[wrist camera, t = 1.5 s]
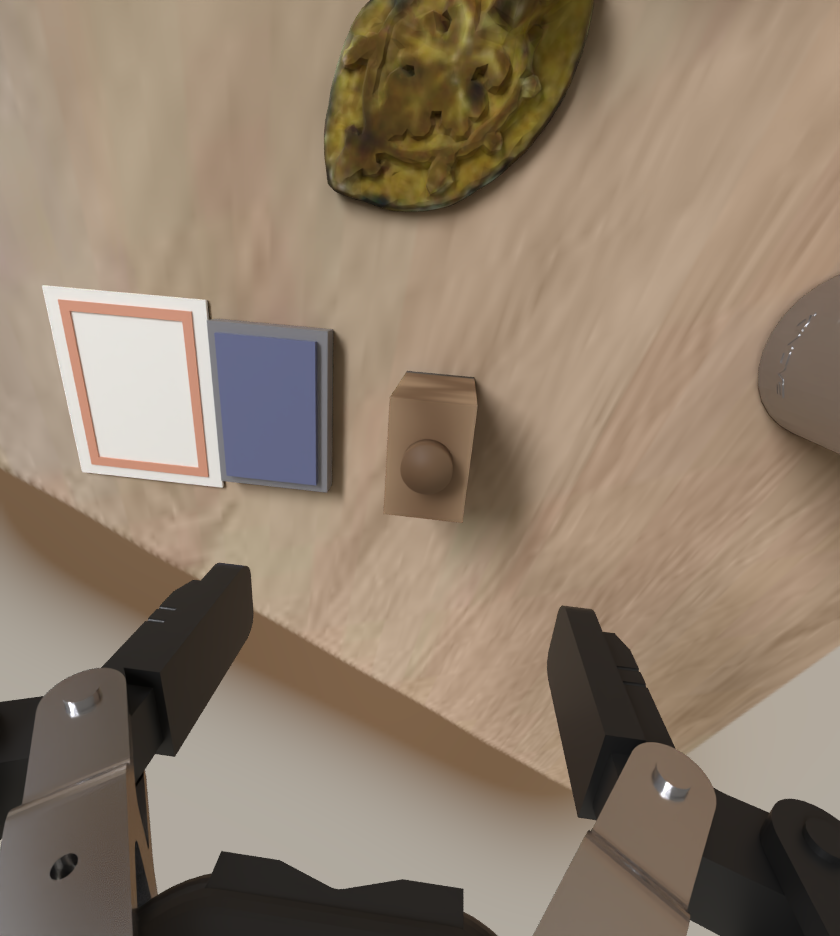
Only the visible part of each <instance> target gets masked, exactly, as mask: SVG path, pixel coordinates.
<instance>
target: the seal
mask: <svg viewBox="0 0 840 936" xmlns="http://www.w3.org/2000/svg"><path fill="white" fill-rule="evenodd" d="M593 5H594V0H370V1H369V2H368V3H367V4H366V5H365V6H364V7H363V8H362V9H361V11H360V12H359V14H358V15H357V17H356V18H355V20H354V22H353V24H352V26H351V28H350V31H349V34H348V36H347V38H346V40H345V42H344V45H343V49H342V52H341V55H340V58H339V61H338V64H337V67H336V71H335V75H334V79H333V83H332V87H331V92H330V99H329V106H328V110H327V114H326V120H325V129H324V156H325V164H326V172H327V180H328V184H329V186H330V187H331V188H332V189H333V190H334V191H336V192H338V193H340V194H343V195H345V196H348V197H351V198H354V199H358V200H361V201H364V202H367V203H370V204H373V205H376V206H378V207H381V208H384V209H387V210H391V211H409V212H412V211H427V210H434V209H438V208H443V207H447V206H450V205H452V204H455V203H457V202H458V201H460V200H462V199H464V198H466V197H467V196H469V195H470V194H472V193H473V192H475V191H477V190H478V189H480V188H481V187H483V186H485V185H486V184H488V183H489V182H491V181H492V180H494V179H495V178H497V177H498V176H499V175H501V174H502V173H503V172H504V171H505V170H506V169H507V168H508V167H509V166H511V165H512V164H513V163H514V162H515V161H516V160H517V159H518V158H519V157H520V156H522V155H523V154H524V153H525V152H526V151H527V149H528V148H529V147H530V146H531V145H532V143H533V142H534V141H535V140H536V139H537V137H538V136H539V135H540V133H541V132H542V131H543V129H544V128H545V127H546V125H547V124H548V122H549V121H550V119H551V118H552V116H553V115H554V113H555V111H556V110H557V108H558V107H559V105H560V103H561V102H562V100H563V98H564V96H565V94H566V92H567V90H568V88H569V86H570V83H571V81H572V78H573V76H574V73H575V71H576V68H577V65H578V63H579V60H580V57H581V54H582V51H583V47H584V44H585V41H586V37H587V34H588V30H589V26H590V21H591V16H592V10H593Z"/></svg>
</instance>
